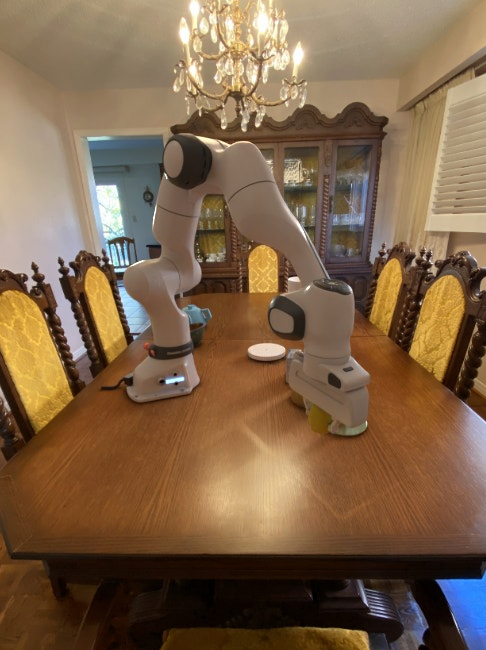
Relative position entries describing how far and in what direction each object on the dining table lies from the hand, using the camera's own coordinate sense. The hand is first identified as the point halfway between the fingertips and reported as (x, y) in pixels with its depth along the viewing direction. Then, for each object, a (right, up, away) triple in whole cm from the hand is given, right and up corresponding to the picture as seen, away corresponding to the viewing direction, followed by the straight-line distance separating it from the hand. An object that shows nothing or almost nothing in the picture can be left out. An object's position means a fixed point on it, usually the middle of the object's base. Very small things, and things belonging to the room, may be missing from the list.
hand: (321, 423), depth 73 cm
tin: (+2, +1, +25) cm, 25 cm away
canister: (+11, +32, +101) cm, 107 cm away
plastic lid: (-9, +13, +57) cm, 59 cm away
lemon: (0, -3, +1) cm, 3 cm away
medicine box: (-1, +6, +39) cm, 39 cm away
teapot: (-44, +27, +93) cm, 107 cm away
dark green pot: (-44, +17, +68) cm, 82 cm away
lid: (+8, -3, +13) cm, 15 cm away
